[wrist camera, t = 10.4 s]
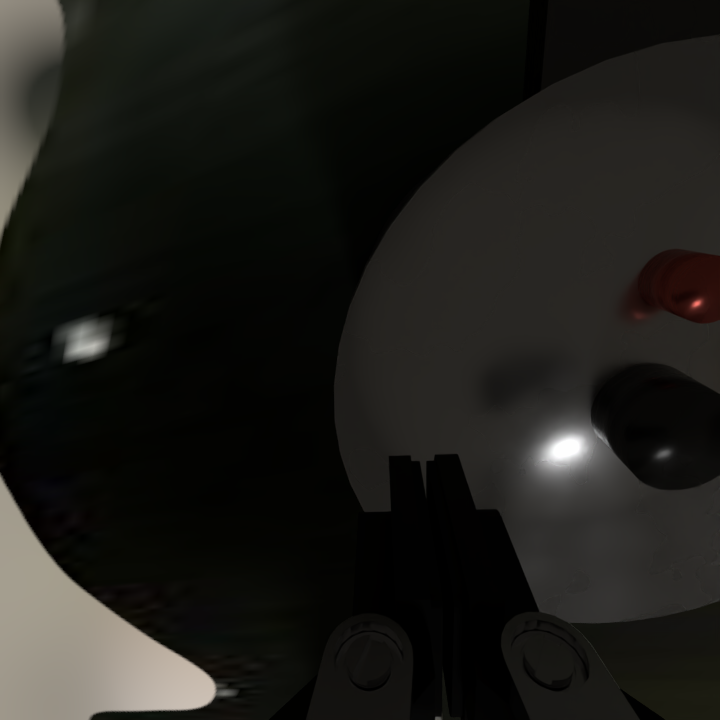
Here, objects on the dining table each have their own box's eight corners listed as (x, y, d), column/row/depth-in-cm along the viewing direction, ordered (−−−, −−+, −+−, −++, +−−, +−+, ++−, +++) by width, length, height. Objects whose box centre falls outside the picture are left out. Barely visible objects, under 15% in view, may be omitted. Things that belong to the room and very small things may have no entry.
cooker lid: (819, 591, 17) (914, 675, 14) (355, 600, 18) (351, 680, 15) (1089, 19, 10) (1389, -53, 7) (308, 80, 11) (285, 37, 8)
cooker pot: (653, 464, 29) (826, 633, 18) (372, 472, 30) (369, 635, 19) (751, 50, 20) (1211, -126, 9) (349, 82, 21) (319, -40, 10)
